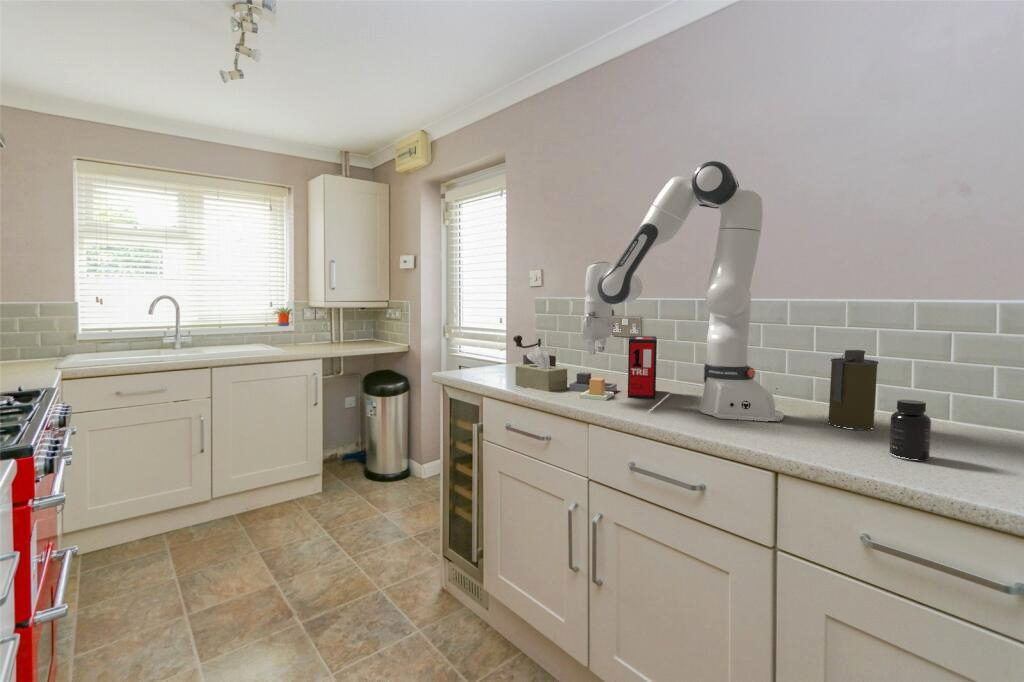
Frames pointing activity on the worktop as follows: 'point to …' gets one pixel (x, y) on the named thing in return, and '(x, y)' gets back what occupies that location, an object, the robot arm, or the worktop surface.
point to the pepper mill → (518, 340)
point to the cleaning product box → (642, 367)
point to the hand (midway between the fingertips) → (596, 353)
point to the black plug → (583, 378)
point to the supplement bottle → (910, 430)
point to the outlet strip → (582, 388)
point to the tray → (597, 397)
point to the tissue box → (541, 373)
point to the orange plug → (597, 386)
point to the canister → (853, 391)
